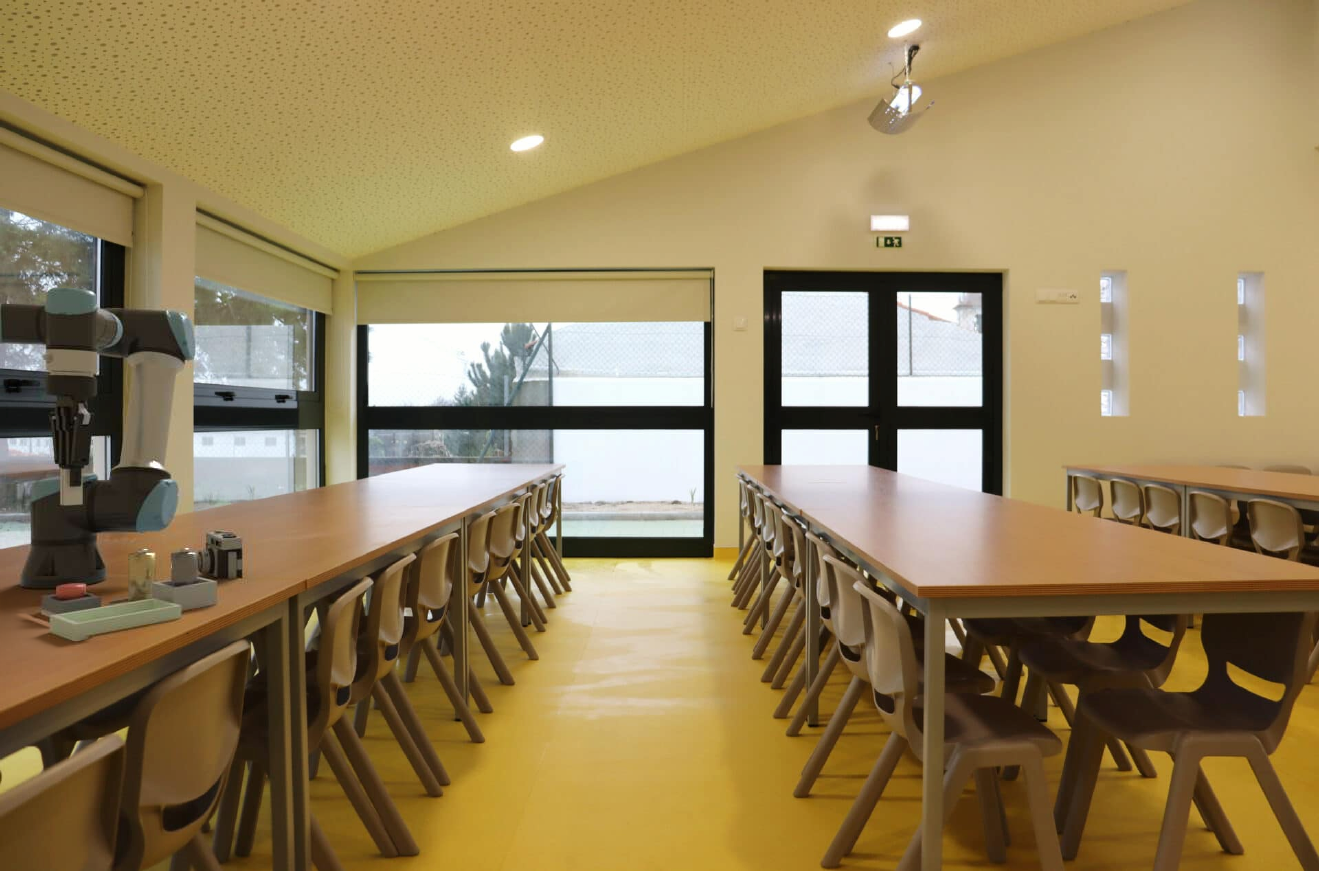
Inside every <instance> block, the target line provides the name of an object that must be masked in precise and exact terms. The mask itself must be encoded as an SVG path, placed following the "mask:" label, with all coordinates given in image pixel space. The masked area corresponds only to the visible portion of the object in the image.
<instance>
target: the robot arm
mask: <svg viewBox="0 0 1319 871" xmlns="http://www.w3.org/2000/svg"><path fill="white" fill-rule="evenodd" d="M45 296H46V297H45V304H44V305H43V304H26V303H25V304H24V303H11V302H10V303H9V302H8V303H7V302H1V301H0V344H2V345H3V344H5V345H6V344H7V345H8V344H10V345H11V344H12V345H36V346H45V354H43V355H42V358H43V360H44V361H46V362H45V370H46V372H48V373H49V374H50V375H48V374H47V375H46V377H45V394H46V395H47V396H49V397H56V404H55V407H54V411H50V412H49V413H48V418H49V422H50V426H51V435H52V436H51V439H52V450H53V451H52V452H53V461H54V464H55V465H58V467H59V469H60V476H59V477H52V478H44V479H38V480H36V481H35V482H34V483H32V486H31V489H30V500H29V504H30V505H29V506H30V509H29V510H30V512H29V513H30V549H29V553H28V555H27V558H26V560H25V563H24V565H23V568H22V570H21V573H20V577H19V580H20V581H19V583H20V584H19V585H20V587H23V588H26V589H56V587H57V586H59V585H64V584H73V583H84V584H86V586H87V585H91V584H96V583H99V582H100V583H101V582H102V581H105V580H106V579H107V574H108V572H107V567H106V564H105V562H104V559H103V556H102V553H101V551H100V548H99V546H98V534H111V533H114V534H118V533H121V534H122V533H123V534H124V533H127V534H128V533H140V534H145V533H150V532H154V533H155V532H161V531H163V530H165V529H166V528H168V527H169V526H170V524H171V523H172V521H173V519H174V517H175V514H176V512H177V507H178V505H179V504H178V502H179V487H178V486H179V484H178V483H177V481H175V480H173V478H172V474H171V472H170V471H169V470H168V469H167V468H166V467H165V465H166V456H167V449H168V439H169V433H170V432H169V431H170V423H171V417H172V410H173V402H174V393H175V385H176V377H177V375H178V373H180V372H182V371H183V370H184V368H185V365H186V361H188V362H189V361H192V360H193V359H194V358H195V356H196V341H195V340H196V339H195V333H194V328H193V325H192V323H191V320H190V317H189V316H188V315H187V314H186V313H184V312H183V311H174V310H168V309H164V310H161V309H160V310H158V309H141V308H140V309H134V308H121V307H113V308H111V307H110V308H108V307H106V308H99V305H98V298H97V295H96V293H95V292H93V291H91V290H88V289H87V290H86V289H82V288H81V289H80V288H70V287H53V288H50V289H48V290H47V292H46V295H45ZM98 355H101V356H105V357H112V358H124V359H126V361H127V363H128V365H129V366H130V367H132V368H133V370H132V377H131V385H130V392H129V398H128V405H127V411H126V418H125V425H124V433H123V439H122V446H121V454H120V461H119V463H118V465H115V466H114V467H113V468H111V469H110V472H109V479H99V476H98V475H97V473H83V472H84V471H83V469H84V468H85V466H89V465H90V457H91V445H92V444H91V443H92V436H93V426H94V422H95V419H96V415H95V413H94V412H89V407H88V401H87V398H94V397H96V396H97V394H98V390H97V389H98V378H96V376H94V375H96V374H97V373H98ZM171 478H172V479H171Z"/></svg>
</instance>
